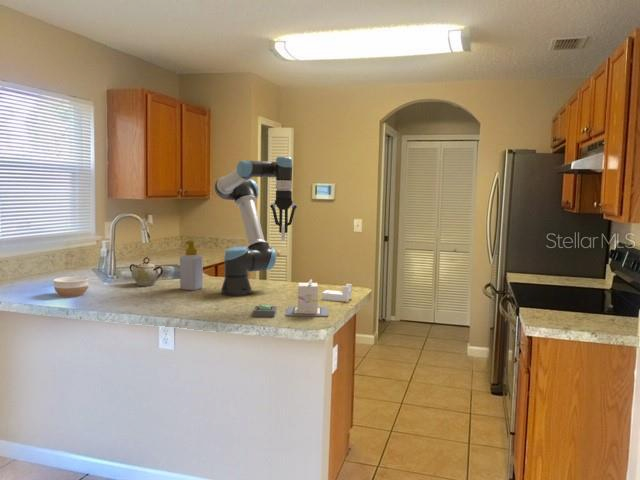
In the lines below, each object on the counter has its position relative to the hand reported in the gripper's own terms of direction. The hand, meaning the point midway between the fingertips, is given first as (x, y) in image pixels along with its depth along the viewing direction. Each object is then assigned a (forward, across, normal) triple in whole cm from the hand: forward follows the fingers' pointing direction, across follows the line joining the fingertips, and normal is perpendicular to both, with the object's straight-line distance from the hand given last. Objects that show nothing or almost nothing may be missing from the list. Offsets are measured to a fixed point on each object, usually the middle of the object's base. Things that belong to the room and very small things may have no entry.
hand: (283, 239), depth 253 cm
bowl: (+30, -104, 0) cm, 108 cm away
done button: (+28, -5, -30) cm, 41 cm away
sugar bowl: (+30, -77, +30) cm, 88 cm away
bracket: (+30, +26, +4) cm, 40 cm away
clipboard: (+29, +13, -24) cm, 40 cm away
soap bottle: (+30, -50, +21) cm, 62 cm away
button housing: (+29, -5, -30) cm, 42 cm away
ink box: (+28, +13, -24) cm, 40 cm away
